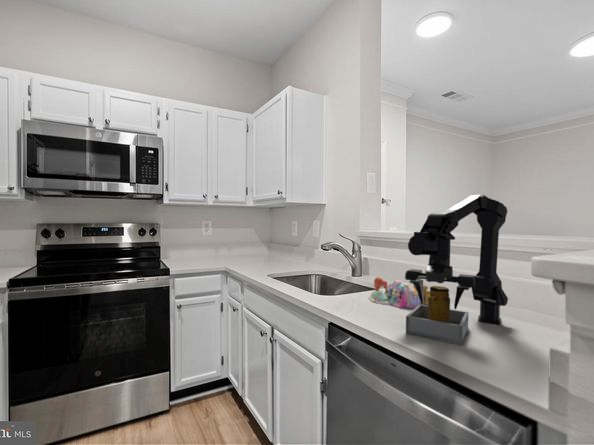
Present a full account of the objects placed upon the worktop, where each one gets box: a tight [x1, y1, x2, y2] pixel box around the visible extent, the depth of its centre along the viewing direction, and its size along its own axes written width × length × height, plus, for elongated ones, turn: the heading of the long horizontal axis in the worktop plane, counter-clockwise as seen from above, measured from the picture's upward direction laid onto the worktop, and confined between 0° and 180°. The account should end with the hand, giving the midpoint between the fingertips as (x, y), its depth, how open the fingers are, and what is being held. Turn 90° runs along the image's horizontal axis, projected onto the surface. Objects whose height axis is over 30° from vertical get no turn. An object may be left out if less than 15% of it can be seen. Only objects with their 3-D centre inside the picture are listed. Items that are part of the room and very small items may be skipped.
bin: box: [405, 304, 469, 346], centre depth 94 cm, size 17×15×5 cm
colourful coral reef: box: [368, 276, 430, 310], centre depth 129 cm, size 25×24×9 cm
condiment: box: [428, 285, 451, 323], centre depth 93 cm, size 7×8×12 cm
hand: (438, 306), depth 94 cm, fingers open, 9 cm apart
